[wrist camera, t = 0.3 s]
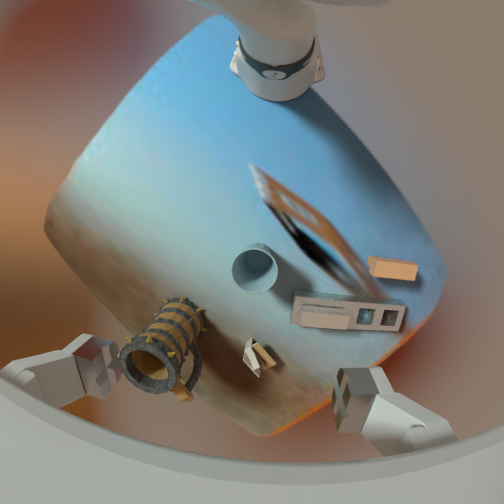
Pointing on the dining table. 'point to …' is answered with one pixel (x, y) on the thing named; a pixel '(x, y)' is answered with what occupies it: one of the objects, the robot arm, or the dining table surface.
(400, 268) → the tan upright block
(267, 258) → the cup
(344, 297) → the rail
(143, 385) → the mug
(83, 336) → the robot arm
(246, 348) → the architectural model
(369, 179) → the dining table surface
